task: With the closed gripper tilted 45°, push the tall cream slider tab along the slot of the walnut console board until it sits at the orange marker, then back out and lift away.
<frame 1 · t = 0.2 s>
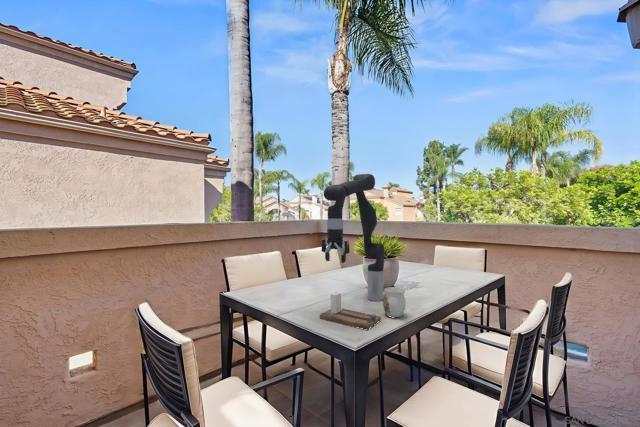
hand: (335, 261, 148), 29 cm above the table, tool pointing down, fingers open, 8 cm apart
slider tab: (335, 302, 156), point 7 cm above the table, slide at 0.0 cm
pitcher: (393, 315, 157), on the table
console board: (349, 319, 151), on the table
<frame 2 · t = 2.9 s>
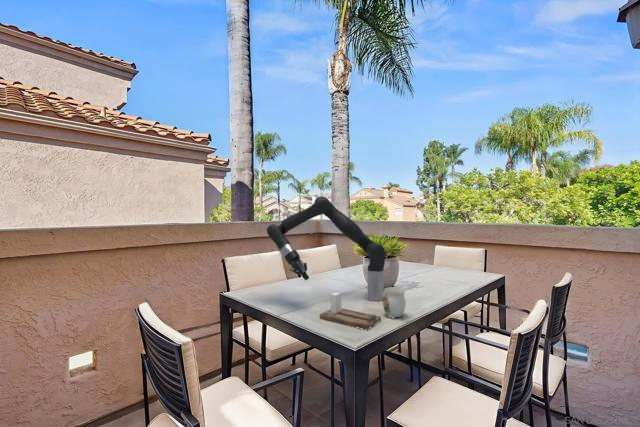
hand: (307, 279, 165), 17 cm above the table, tool tilted 45°, fingers closed
nothing on the table moved.
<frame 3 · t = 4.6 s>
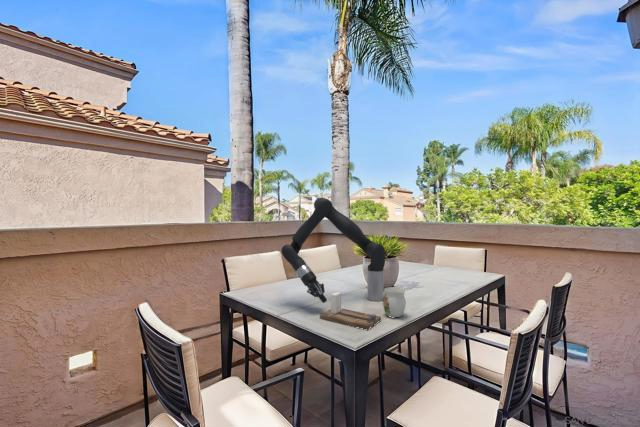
hand: (325, 301, 159), 6 cm above the table, tool tilted 45°, fingers closed
nothing on the table moved.
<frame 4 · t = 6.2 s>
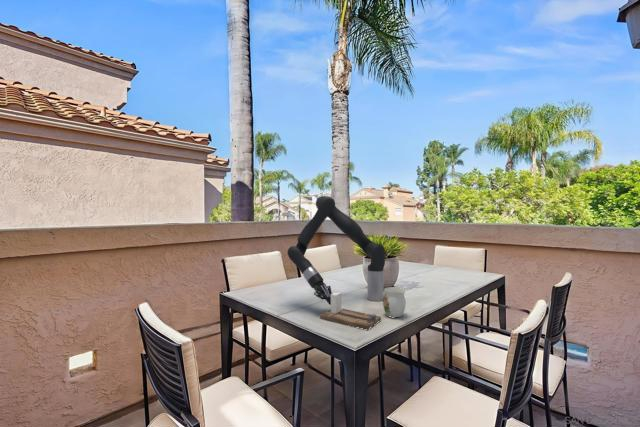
hand: (332, 304, 157), 6 cm above the table, tool tilted 45°, fingers closed
slider tab: (335, 302, 156), point 7 cm above the table, slide at 0.0 cm, touching gripper
everything else where it was.
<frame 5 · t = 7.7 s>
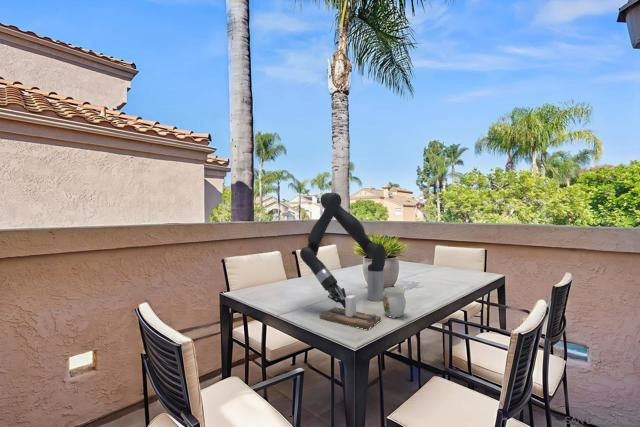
hand: (347, 307, 152), 6 cm above the table, tool tilted 45°, fingers closed
slider tab: (350, 305, 151), point 7 cm above the table, slide at 8.5 cm, touching gripper
everything else where it was.
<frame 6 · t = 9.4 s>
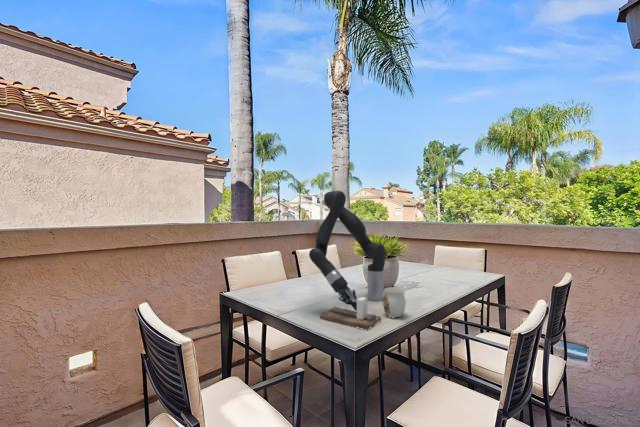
hand: (358, 309, 149), 6 cm above the table, tool tilted 45°, fingers closed
slider tab: (362, 308, 147), point 7 cm above the table, slide at 14.6 cm, touching gripper
everything else where it was.
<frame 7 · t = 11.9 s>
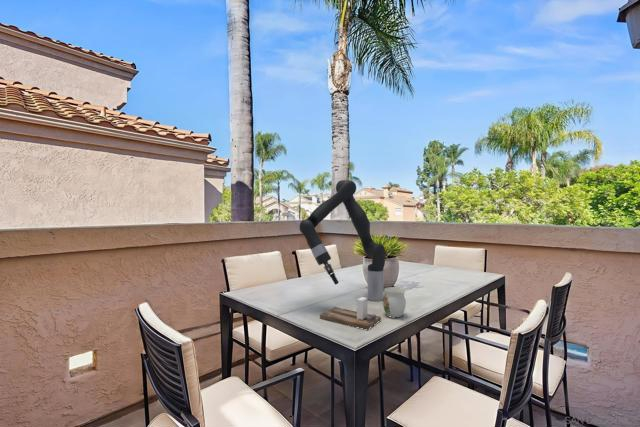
hand: (337, 283, 160), 15 cm above the table, tool tilted 30°, fingers closed
slider tab: (362, 308, 147), point 7 cm above the table, slide at 14.6 cm
everything else where it was.
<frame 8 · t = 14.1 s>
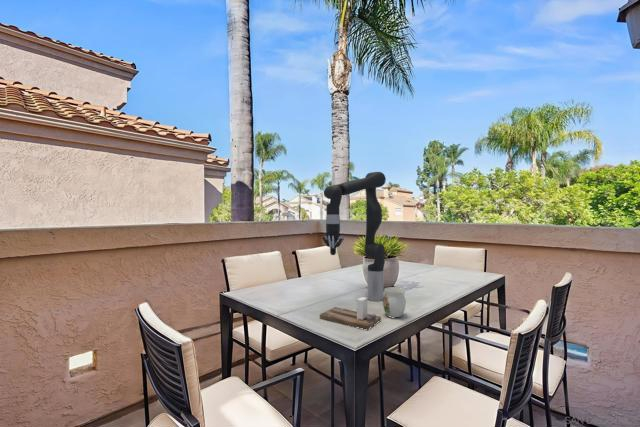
hand: (333, 254, 168), 29 cm above the table, tool pointing down, fingers closed
nothing on the table moved.
at the end: slider tab slide at 14.6 cm; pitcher moved 0.2 cm from its start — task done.
